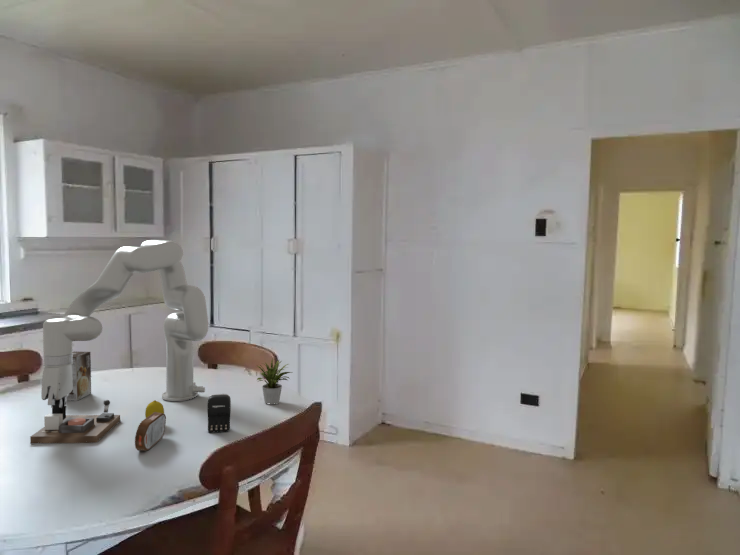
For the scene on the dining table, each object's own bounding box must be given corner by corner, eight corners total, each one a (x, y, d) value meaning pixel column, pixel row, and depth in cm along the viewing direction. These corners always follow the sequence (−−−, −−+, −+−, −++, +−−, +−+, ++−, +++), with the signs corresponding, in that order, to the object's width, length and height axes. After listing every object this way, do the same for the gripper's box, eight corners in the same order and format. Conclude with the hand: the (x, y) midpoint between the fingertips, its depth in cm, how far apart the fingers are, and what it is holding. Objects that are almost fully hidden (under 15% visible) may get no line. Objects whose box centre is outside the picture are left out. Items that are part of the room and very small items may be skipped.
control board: (120, 420, 168) (120, 408, 168) (96, 442, 151) (96, 429, 150) (61, 421, 167) (61, 409, 166) (30, 443, 149) (30, 429, 149)
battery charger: (206, 434, 159) (206, 397, 158) (207, 429, 163) (207, 393, 162) (230, 433, 161) (230, 396, 160) (230, 428, 164) (230, 393, 163)
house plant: (261, 412, 180) (262, 366, 179) (242, 402, 190) (243, 358, 189) (296, 404, 189) (297, 360, 188) (276, 395, 200) (277, 353, 198)
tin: (157, 435, 158) (157, 407, 157) (168, 435, 158) (167, 408, 157) (133, 455, 143) (133, 425, 142) (145, 456, 143) (144, 425, 142)
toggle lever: (109, 412, 165) (111, 399, 166) (107, 412, 163) (109, 399, 164) (103, 412, 165) (105, 400, 166) (101, 412, 163) (103, 399, 164)
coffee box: (75, 393, 196) (74, 350, 195) (91, 393, 196) (91, 351, 195) (60, 400, 187) (59, 356, 186) (77, 401, 187) (77, 356, 186)
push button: (88, 424, 158) (88, 418, 158) (81, 430, 154) (81, 423, 153) (72, 424, 158) (72, 418, 158) (65, 430, 153) (64, 423, 153)
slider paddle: (62, 426, 156) (62, 413, 156) (58, 429, 154) (58, 416, 154) (48, 426, 156) (48, 413, 156) (44, 429, 154) (44, 416, 153)
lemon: (167, 423, 167) (167, 399, 167) (155, 429, 162) (155, 404, 162) (153, 421, 169) (153, 396, 169) (141, 426, 164) (141, 401, 163)
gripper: (57, 354, 164) (58, 411, 165) (31, 365, 149) (32, 428, 150) (82, 354, 165) (83, 411, 166) (59, 365, 150) (60, 428, 151)
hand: (59, 419), depth 158 cm, fingers closed
